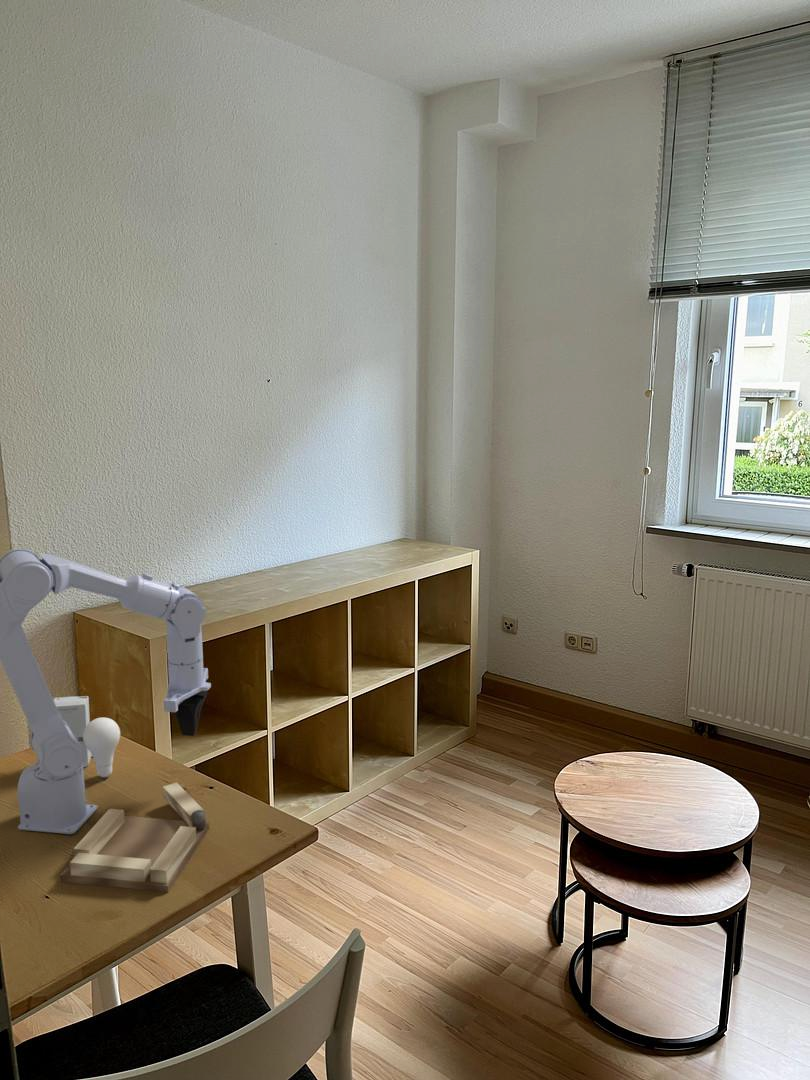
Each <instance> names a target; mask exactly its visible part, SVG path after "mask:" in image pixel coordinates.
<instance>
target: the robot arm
mask: <svg viewBox="0 0 810 1080" xmlns="http://www.w3.org/2000/svg"><path fill="white" fill-rule="evenodd" d="M37 554H38V555H39V556H40V557H41V558H39V557H38V555H37ZM37 554H35V553H34V552H33V551H31V550H29V549H25V548H16V549H12V550H9V551H7V552H6V553H5V554H3V555H2V556H1V557H0V663H1V666H2V667H3V669H4V671H5V674H6V676H7V679H8V681H9V682H10V685H11V687H12V690H13V692H14V694H15V696H16V699H17V701H18V703H19V704H20V707H21V709H22V712H23V714H24V717H25V719H26V722H27V724H28V726H29V729H30V740H29V741H30V742H29V743H30V746H31V749H32V751H33V752H34V753H35V755H36V757H37V759H36V761H35V764H31V765H28V766H27V767H25V768H24V769H23V771H22V772H21V774H20V776H19V778H18V783H17V789H16V790H17V792H16V793H17V802H18V809H19V811H18V812H19V819H20V820H19V821H20V823H19V825H18V826H17V829H18V830H21V831H31V832H32V831H33V832H43V833H54V834H66V835H74V834H76V832H77V831H79V829H80V828H81V827H83V825H84V824H85V823H86V822H87V820H89V819H90V817H91V816H92V815H93V814H94V813H95V812H96V811H98V809H99V807H98V805H97V804H87V797H86V787H85V786H86V784H85V773H84V767H83V761H84V750H83V748H82V746H81V745H80V744H79V743H78V742H77V740H76V738H75V737H74V735H73V734H72V731H71V729H70V727H69V725H68V724H67V723H66V722H64V721H63V720H62V718H61V716H60V714H59V712H58V709H57V707H56V705H55V702H54V698H53V696H52V693H51V690H50V688H49V686H48V685H47V682H46V679H45V677H44V675H43V672H42V670H41V667H40V666H39V663H38V660H37V659H36V656H35V654H34V652H33V649H32V647H31V645H30V642H29V640H28V638H27V636H26V633H25V631H24V629H23V626H22V625H23V622H24V621H25V619H26V618H27V616H28V614H29V612H30V611H31V610H32V609H34V608H35V607H36V606H37V605H39V604H40V603H41V602H42V601H43V600H44V599H46V597H47V596H49V594H50V592H53V594H55V595H57V594H61V593H62V592H64V591H66V590H68V589H70V588H74V589H78V590H81V591H85V592H89V593H93V594H94V593H95V594H98V595H101V596H107V597H109V598H113V599H118V601H119V602H120V605H121V606H122V608H123V609H124V610H127V611H131V612H134V613H138V614H142V615H145V616H149V617H153V618H155V619H158V620H164V619H165V625H166V627H165V628H166V648H167V649H166V650H167V667H168V671H167V672H168V685H167V691H166V697H165V698H164V700H163V711H164V712H166V713H168V712H169V713H173V714H174V716H175V717H176V720H177V723H178V726H179V730H180V731H181V735H182V736H187V737H194V736H195V735H196V734H197V731H198V728H199V724H200V723H199V721H200V716H201V713H202V708H203V706H204V703H205V701H206V698H207V696H208V690H210V688H211V687H212V683H211V682H207V680H208V679H209V669H208V667H204V651H203V632H202V623H203V622H204V620H205V618H206V615H207V612H208V611H207V608H206V607H205V605H204V601H203V599H201V598H200V597H199V596H198V595H197V594H196V593H194V592H192V591H191V590H189V589H188V588H186V587H183V585H181V584H177V583H175V582H171V584H168V583H165V582H162V581H158V580H156V579H153V578H154V576H152V575H151V574H149V573H146V572H143V573H142V575H139V574H132V575H130V576H128V577H126V578H122V577H119V576H115V575H113V574H110V573H107V572H104V571H101V570H98V569H96V568H92V567H90V566H87V565H84V564H80V563H78V562H76V561H74V560H73V561H72V560H69V559H66V558H63V557H61V556H60V557H59V556H55V555H52V554H48V553H44V552H37Z"/></svg>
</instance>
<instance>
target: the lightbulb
mask: <svg viewBox="0 0 810 1080" xmlns="http://www.w3.org/2000/svg"><path fill="white" fill-rule="evenodd" d="M120 739H121V728H120V727H119V724H118V723H117V722H116V721H115V720H113V719H112V718H109V717H104V716H103V717H97V718H95V719H93V720H91V721H90V723H89V724H88V725H87V726H86V728H85V730H84V733H83V740H84V743H85V745H86V747H87V748H88V750H89V751H90V752H91V754H92V756H91V757H92V759H93V763H94V765H95V768H96V774H97V776H98V777H102V778H103V779H105V778H108V777H109V776H110V775H112V773H113V763H114V754H115V751H116V748H117V746H118V745H119V742H120Z"/></svg>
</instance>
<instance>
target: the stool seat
mask: <svg viewBox="0 0 810 1080" xmlns="http://www.w3.org/2000/svg"><path fill="white" fill-rule="evenodd" d="M209 830H210V823H209V822H206V827H205V828H203V829H201V830H196V827H190V826H189V825H188V824H187V823H186V822H185V820H176V819H164V818H152V817H141V816H133V815H131V816H129V815H125V810H124V809H118V808H116V809H115V808H108V809H107V810H106V812H105V813H104V814H103V815H102V816H101V817H100V819H98V820H97V822H96V823H95V824H94V825H93V826H92V827H91V829H90V830H89V831H88V832H87V833H86V835H84V836H83V838H82V839H81V840H80V841H79V842H78V843H77V844H76V846H74V847H73V858H72V859H71V860H70V861H69V864H68V865H67V867H66V868H65V869H64V870H63V871H62V872H61V873H60V875H59V880H60V882H61V883H62V882H63V883H73V884H83V885H89V886H91V885H92V886H102V887H112V888H113V887H114V888H121V889H133V890H144V891H152V892H163V893H169V891H170V890H171V888H172V886H173V885H174V883H175V882H176V881H177V879H178V877H179V876H180V875H181V873H182V872H183V870H184V868H185V867H186V865H187V864H188V862H189V860H190V859H191V858H192V856H193V854H194V853H195V852H196V850H197V849H198V847H199V845H200V843H201V842H202V841H203V840H204V837H206V835H207V833H208V831H209Z"/></svg>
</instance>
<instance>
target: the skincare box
mask: <svg viewBox="0 0 810 1080" xmlns="http://www.w3.org/2000/svg"><path fill="white" fill-rule="evenodd" d="M53 700H54V702H55V705H56V707H57V709H58V712H59V714H60V716H61V718H62V720H63V721H64V722H66V723H67V724H68V725H69V727H70V729H71V731H72V734H73V735H74V737H75V738H76V740H77V742H78V743H79V744H80V745H81V746H82V748H83V750H84V761H83V768H86V767H89V765H90V761H91V759H92V757H93V756H92V754H91V752H90V751H89V750H88V748H87V747H86V745H85V743H84V740H83V733H84V730H85V728H86V726H87V725H88V724H89V723H90V722H91V721H90V720H91V719H90V717H91V716H90V702H89V700H90V698H89V696H88V695H84V696H83V695H82V696H76V695H75V696H64V697H63V696H62V697H59V696H58V697H54V698H53Z"/></svg>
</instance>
